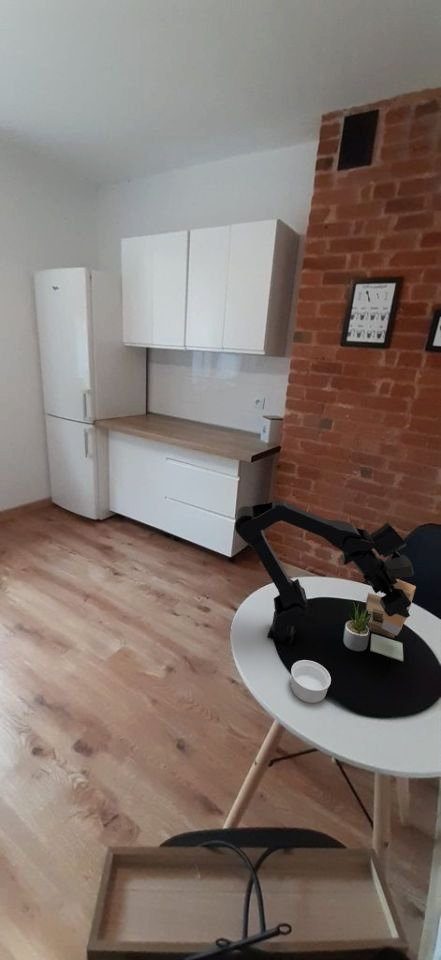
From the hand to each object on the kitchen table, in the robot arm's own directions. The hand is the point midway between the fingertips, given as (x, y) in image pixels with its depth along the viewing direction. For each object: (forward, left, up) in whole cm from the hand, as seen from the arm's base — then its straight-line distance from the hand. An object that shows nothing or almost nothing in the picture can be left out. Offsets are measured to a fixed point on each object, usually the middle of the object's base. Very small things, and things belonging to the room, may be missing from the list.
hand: (402, 607), depth 101 cm
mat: (0, +1, -13) cm, 13 cm away
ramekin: (-24, +18, -13) cm, 33 cm away
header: (+13, +3, -13) cm, 18 cm away
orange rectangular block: (0, +1, -7) cm, 7 cm away
